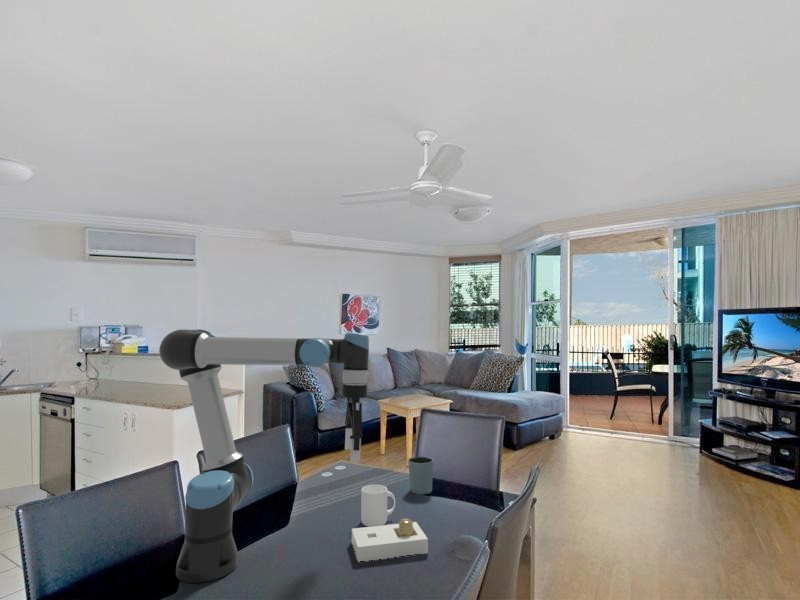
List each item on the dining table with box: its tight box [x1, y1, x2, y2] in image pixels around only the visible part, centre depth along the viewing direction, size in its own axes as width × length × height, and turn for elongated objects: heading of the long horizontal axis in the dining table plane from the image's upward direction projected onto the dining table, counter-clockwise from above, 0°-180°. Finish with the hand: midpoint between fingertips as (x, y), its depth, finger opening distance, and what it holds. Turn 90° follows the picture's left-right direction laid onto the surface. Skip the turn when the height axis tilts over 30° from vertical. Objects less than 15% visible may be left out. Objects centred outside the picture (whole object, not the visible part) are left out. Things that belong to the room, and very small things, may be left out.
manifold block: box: [351, 521, 429, 563], centre depth 129 cm, size 20×12×4 cm, turn 104°
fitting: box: [398, 518, 414, 537], centre depth 130 cm, size 4×4×7 cm
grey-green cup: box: [407, 456, 434, 495], centre depth 177 cm, size 10×10×12 cm
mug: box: [360, 484, 396, 527], centre depth 148 cm, size 9×12×11 cm
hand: (352, 455), depth 134 cm, fingers open, 13 cm apart
